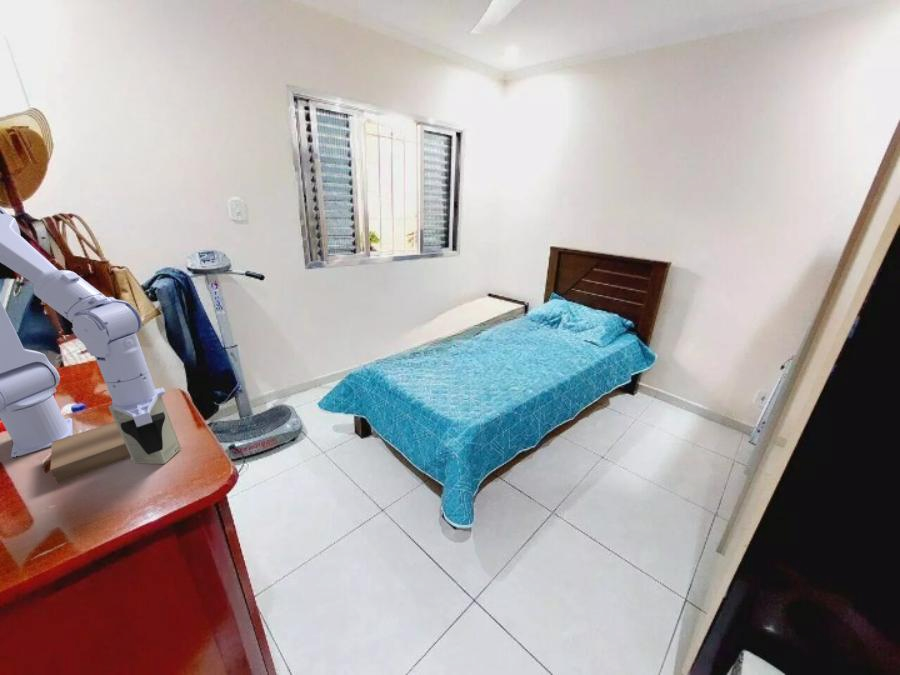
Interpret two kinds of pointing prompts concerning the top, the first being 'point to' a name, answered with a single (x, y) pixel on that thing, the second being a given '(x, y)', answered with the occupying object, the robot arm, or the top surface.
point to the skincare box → (168, 437)
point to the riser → (87, 452)
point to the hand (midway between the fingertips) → (151, 441)
